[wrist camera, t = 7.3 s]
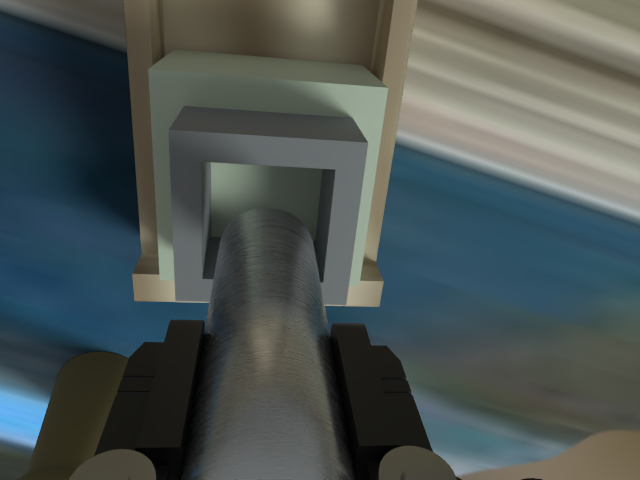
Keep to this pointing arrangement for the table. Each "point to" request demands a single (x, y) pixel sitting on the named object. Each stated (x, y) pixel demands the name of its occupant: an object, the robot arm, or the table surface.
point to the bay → (277, 42)
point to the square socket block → (262, 158)
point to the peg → (267, 362)
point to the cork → (76, 415)
